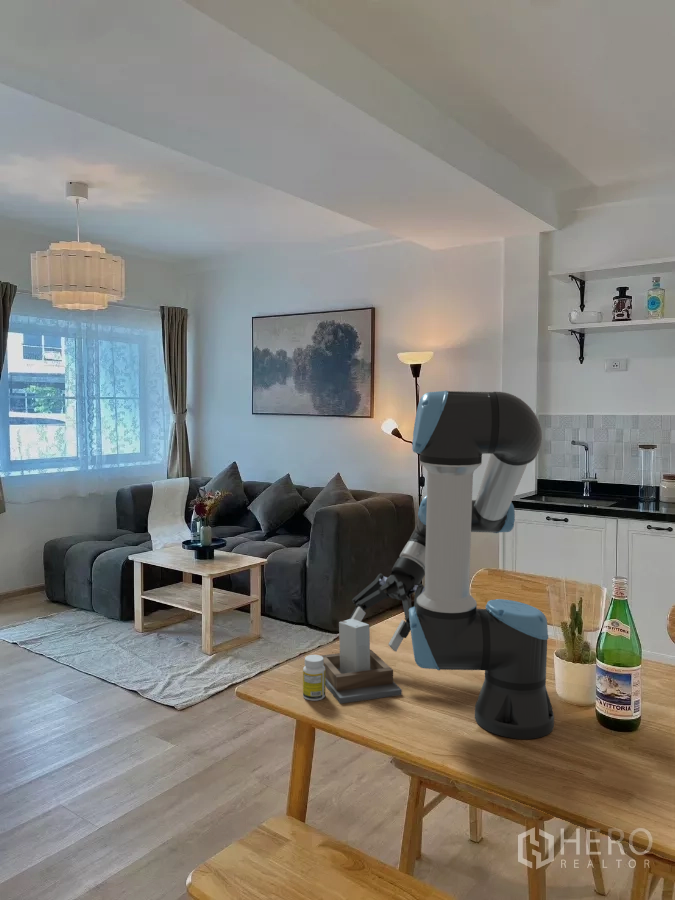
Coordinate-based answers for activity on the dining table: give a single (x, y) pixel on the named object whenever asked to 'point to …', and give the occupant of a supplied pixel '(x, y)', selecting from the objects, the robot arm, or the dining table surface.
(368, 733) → the dining table surface
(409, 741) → the dining table surface
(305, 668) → the supplement bottle
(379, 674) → the collar stand
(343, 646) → the skincare box
